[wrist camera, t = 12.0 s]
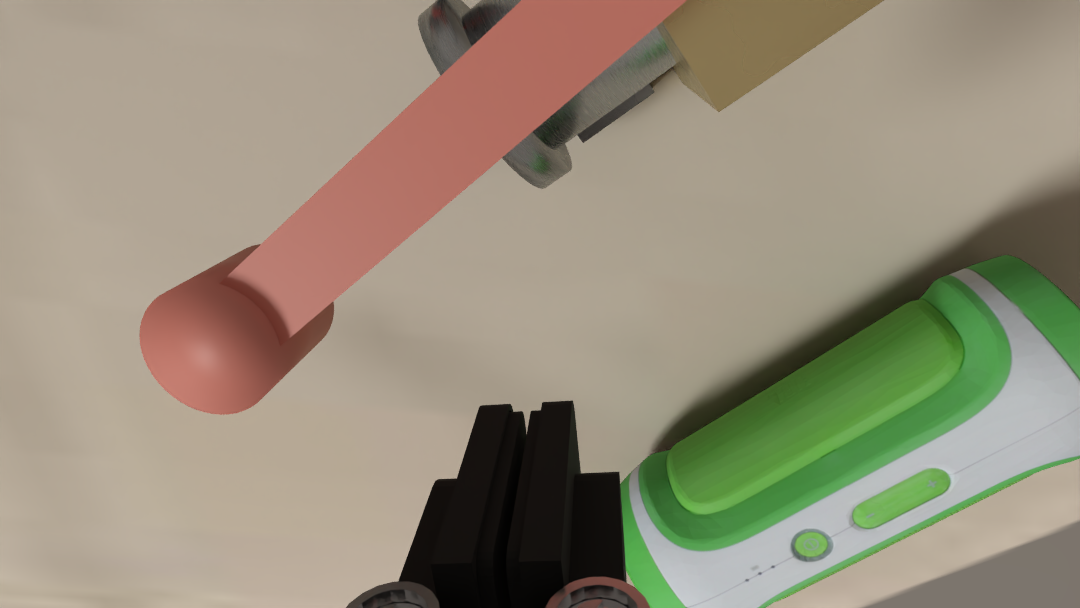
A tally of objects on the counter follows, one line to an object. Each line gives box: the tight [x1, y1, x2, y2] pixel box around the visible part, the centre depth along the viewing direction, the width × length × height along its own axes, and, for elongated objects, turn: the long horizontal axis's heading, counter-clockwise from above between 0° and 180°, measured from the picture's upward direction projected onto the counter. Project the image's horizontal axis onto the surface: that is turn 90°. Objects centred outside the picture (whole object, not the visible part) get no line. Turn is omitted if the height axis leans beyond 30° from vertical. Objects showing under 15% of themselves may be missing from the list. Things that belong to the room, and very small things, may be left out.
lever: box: [140, 0, 687, 414], centre depth 14 cm, size 4×18×4 cm, turn 130°
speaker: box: [620, 255, 1080, 608], centre depth 26 cm, size 18×7×8 cm, turn 130°
